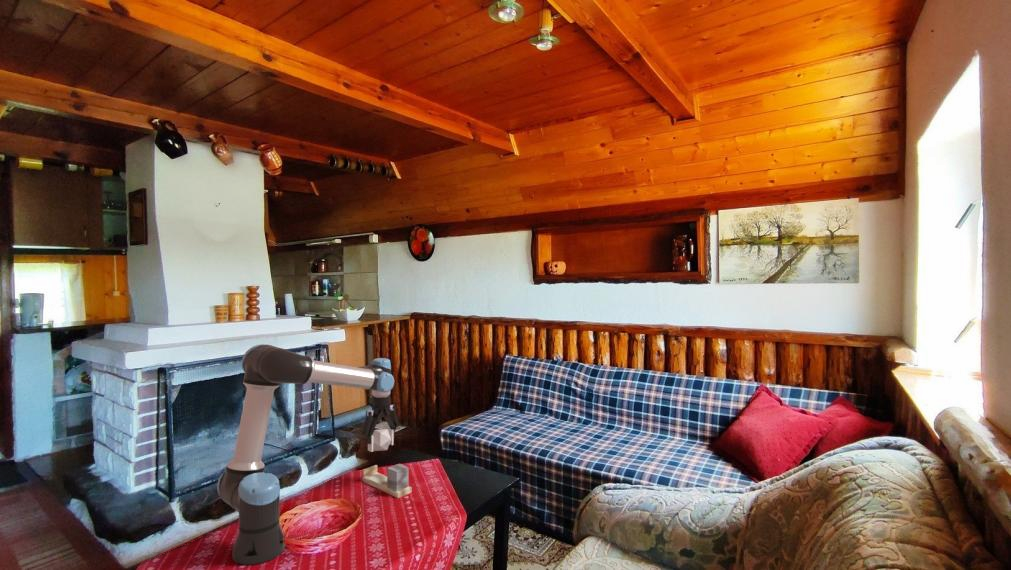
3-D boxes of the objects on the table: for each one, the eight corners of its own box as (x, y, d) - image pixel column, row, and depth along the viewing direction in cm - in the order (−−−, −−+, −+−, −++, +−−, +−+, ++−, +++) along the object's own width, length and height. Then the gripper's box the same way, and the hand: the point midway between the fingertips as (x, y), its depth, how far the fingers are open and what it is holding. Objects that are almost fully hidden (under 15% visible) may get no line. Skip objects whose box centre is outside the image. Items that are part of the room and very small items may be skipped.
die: (382, 456, 203) (396, 434, 207) (364, 445, 203) (377, 423, 207) (383, 456, 211) (396, 434, 214) (365, 445, 211) (379, 424, 215)
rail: (398, 498, 196) (398, 473, 196) (362, 481, 212) (362, 458, 211) (411, 492, 202) (411, 468, 202) (375, 476, 217) (376, 453, 217)
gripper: (364, 402, 197) (363, 457, 198) (407, 392, 214) (407, 442, 215) (353, 398, 202) (352, 452, 202) (396, 389, 219) (396, 438, 220)
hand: (380, 447), depth 209 cm, fingers closed on die, 10 cm apart
